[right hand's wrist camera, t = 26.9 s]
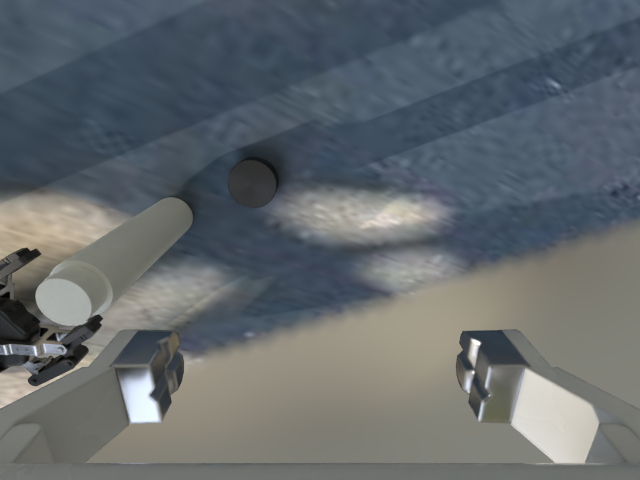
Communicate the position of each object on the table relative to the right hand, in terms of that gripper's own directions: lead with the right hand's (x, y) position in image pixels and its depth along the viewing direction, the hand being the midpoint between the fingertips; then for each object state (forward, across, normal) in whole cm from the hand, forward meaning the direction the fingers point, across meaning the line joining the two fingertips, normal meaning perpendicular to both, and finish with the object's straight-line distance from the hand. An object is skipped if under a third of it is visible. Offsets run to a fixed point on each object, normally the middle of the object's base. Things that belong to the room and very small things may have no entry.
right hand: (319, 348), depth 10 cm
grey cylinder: (+29, +16, +5) cm, 34 cm away
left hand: (+23, +25, +10) cm, 35 cm away
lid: (+28, +7, +1) cm, 29 cm away
